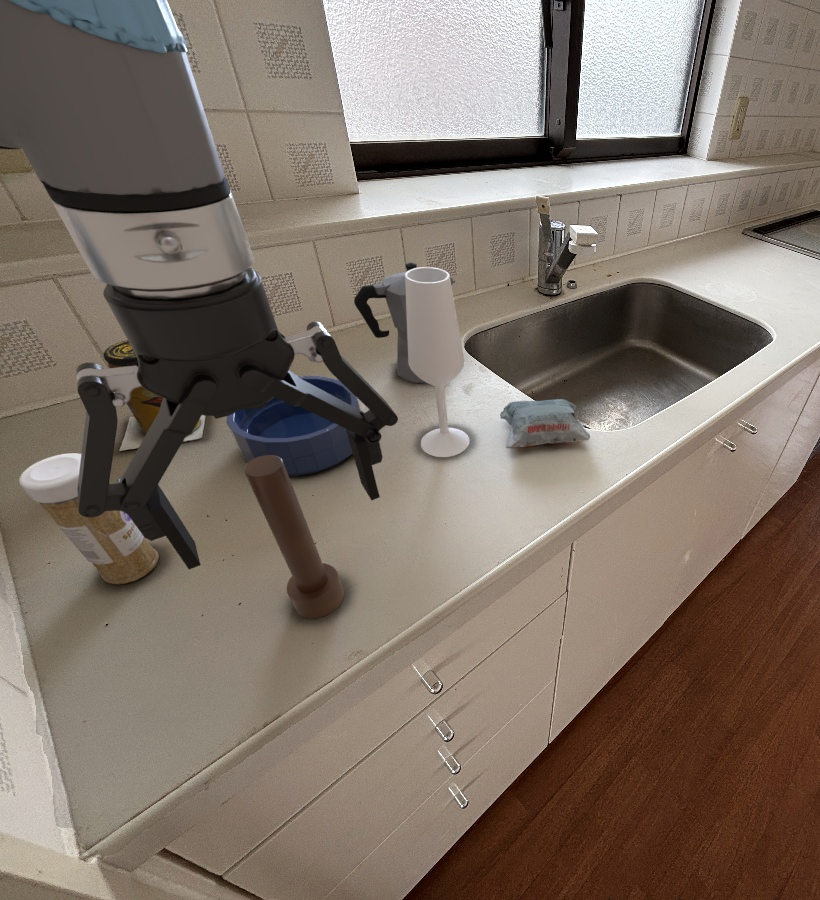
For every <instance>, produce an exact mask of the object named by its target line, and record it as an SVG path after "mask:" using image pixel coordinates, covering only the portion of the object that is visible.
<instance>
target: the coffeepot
mask: <svg viewBox="0 0 820 900" xmlns="http://www.w3.org/2000/svg"><path fill="white" fill-rule="evenodd" d="M405 268H406V271H401V272H398V273H395V274H392V275H389V276H386V277H383V278H382V282H379V283H372V284H369V285H363V286H361V288H360V289H359V290H358V292H357V293H356V295H355V297H354V299H353V301H354V306H355V307H356V309H357V310H358V312H359V313H360V315H361V317H362V318H363V320H364V321H365V324H367V326H368V328H369V329H370V331H371V332H372V334H373V336H374V337H375V338H376V339H381V338H386V337H387V338H388V337H389V336H390V330H389V329H387V330H381V328H380V324H379V321H378V319H376V318H375V316H374V313H373V311H372V308H371V306H370V305H369V304H368V301H369V300H370V299H385V301H386V304H387V307H388V311H389V313H390V317H391V320H392V323H393V326H394V328H395V329H397V343H396V344H397V348H396V350H397V354H396V356H397V357H396V375H397V376H398V377H400V378H401V379H403V380H405V381H407V382H409V383H415V384H428V383H427V382H425V381H423V380H421V379H420V378H419V377H418V376H416V375H415V374H414V372H413V371H412V370H411V368H410V366H409V364H408V339H407V313H406V286H405V273H406V272H407V271H409V270H411V269H414V268H418V266H417V263H415V262H407V263H405ZM450 281H451V286H452V285H453V284H455V283H456V280H454V279H453V278H452V277H450Z"/></svg>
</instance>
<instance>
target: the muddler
mask: <svg viewBox="0 0 820 900" xmlns="http://www.w3.org/2000/svg"><path fill="white" fill-rule="evenodd" d="M243 472H244V475H245V477H246V479H247V481H248V483H249V485H250V487H251V489H252V492H253V494H254V497H255V498H256V500H257V502H258V504H259V507H260V509H261V511H262V514H263V516H264V518H265V520H266V522H267V524H268V527H269V529H270V531H271V532H272V535H273V538H274V540H275V542H276V544H277V547H278V548H279V550H280V553H281V555H282V557H283V559H284V561H285V563H286V566H287V567H288V570H289V572H290V575H291V576H290V578H289V579H288V582H287V583H286V593H287V595H288V597H289V599H290V601H291V603H292V605H293V607H294V609H295V612H296V613H297V614H298V615H299V616H300V617H303V618H305V619H319V618H323V617H326V616H328V615H330V614H331V613H333V612H335V611H336V610H337V609H338V608H339V607H340V606H341V604H342V603H343V601H344V597H345V590H344V587H343V583H342V581H341V578H340V575H339V572H338V570H337V569H336V568H335V566H333V565H332V564H329V563H326V562H323V561H322V558H321V555H320V553H319V551H318V548H317V545H316V543H315V541H314V538H313V535H312V533H311V530H310V527H309V525H308V522H307V520H306V517H305V514H304V512H303V509H302V507H301V504H300V501H299V499H298V497H297V494H296V492H295V489H294V487H293V483H292V480H291V478H290V476H288V473H287V470H286V468H285V465H284V463H283V460H282V459H281V458H280V457H278V456H274V455H265V456H260V457H257V458H255V459H253V460H251V461H250V462H248V463H246V464H245V466H244V468H243Z"/></svg>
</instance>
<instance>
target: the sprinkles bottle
mask: <svg viewBox="0 0 820 900" xmlns="http://www.w3.org/2000/svg"><path fill="white" fill-rule="evenodd" d="M80 462H81V453H72V452H70V453H62V454H56V455H53V456H50V457H47V458H44V459H42V460H39V461H37V462H34V463H33V464H32V465H30V466H29V467H28V468H26V469H25V470H24V471H23V472H22V473H21V475H20V476H19V479H18V482H19V485H20V486H21V488H22V489H23V490H24V492H25V493H26V494H27V495H28V496H29V498H30V499H31V500H33V501H34V502H37V503H38V504H39V505H40V506H41V507H42V508H43V509H44V510H45V511H46V512H47V514H48V515H49V516H50V517H51V518H52V520H53V521H54V523H55V525H56V526H57V527H58V529H60V531H61V532H62V533H63V534H64V535H65V536H66V537H67V539H69V541H70V542H71V543H72V544H73V545H74V547H75V548H76V549H77V550H78V551H79V552H80V553H81V554H82V556H83V557H84V558H85V559H86V560H87V561H88V562H89V563H91V564H92V565H93V566H94V567H95V568H96V570H97V571H98V572H99V574H100V576H101V578H102V580H103V581H104V582H106V583H108V584H112V585H124V584H129V583H132V582H135V581H138V580H139V579H141V578H144V577H145V576H146V575H147V574H149V573H150V572H151V571H153V569H154V568H156V566H157V564H158V561H159V558H160V556H159V555H160V554H159V552H158V551H157V550H156V548H153V546H152V545H151V543H149V541H148V539H146V538H144V536H143V535H142V533H141V532H140V531H139V529H138V528H137V527H136V525H135V524H134V522H133V521H132V520H131V518H130V517H129V516H128V515H127V514H126V513H125V512H122V511H104V513H103V514H101V515H100V516H97V517H92V518H90V517H84V516H82V515H80V514H79V511H78V489H77V487H78V479H79V470H80Z"/></svg>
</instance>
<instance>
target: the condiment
mask: <svg viewBox="0 0 820 900" xmlns="http://www.w3.org/2000/svg"><path fill="white" fill-rule="evenodd" d="M103 359H104V360H105V362H107V365H108V368H117V367H127V366H136V361H137V356H136V354H135V352H134V350H133V348H132V347H131V345H130V343H129V341H128V339H127V340H123V341H119V342H116V343H114V344H112V345H110V346H109V347H107V348H105V350H104V352H103ZM163 399H164V398H163V397H161V396H158V395H156V394H154V393H152V392H150V391H148V390H146V389H145V388H144V387H138V388H135V389H134V390H133V391H132V392H131V398H130V401H129V402H128V403H126V405H127V407H128V409H129V410H130V412H131V413H132V415H133V416H129V418H128V423H127V426H126V430H125V433H124V438H123V439H122V442H121V445H120V447H119V450H118V451H119V452H122V451H128V450H135V449H138V448H139V446H140V444H141V443H142V441H143V439H144V437H145V436H146V434H147V432H148V430H149V429H150V427H151V425H152V423H153V422H154V420H155V418H156V416H157V414H158V413H159V411H160V407H161V403H162V400H163ZM205 421H206V416H205V415H202V416H201V417H200V419H199V421H198V422H197V424H196V426H195V428H194V429H193V431H192V432H191V434H187V435H186V437H185V439H184V440H183V442H188V441H195V440H199V439H202V438H203V433H204V428H205Z"/></svg>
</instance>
